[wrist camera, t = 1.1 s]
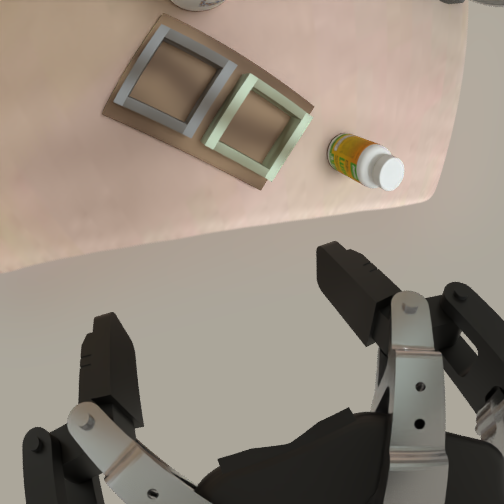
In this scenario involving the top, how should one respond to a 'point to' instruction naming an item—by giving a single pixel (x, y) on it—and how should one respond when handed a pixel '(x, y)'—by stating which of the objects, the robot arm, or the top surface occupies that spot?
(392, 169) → the supplement bottle
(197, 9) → the bath foam
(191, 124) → the socket board
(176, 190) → the top surface
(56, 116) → the top surface
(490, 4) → the alarm clock
